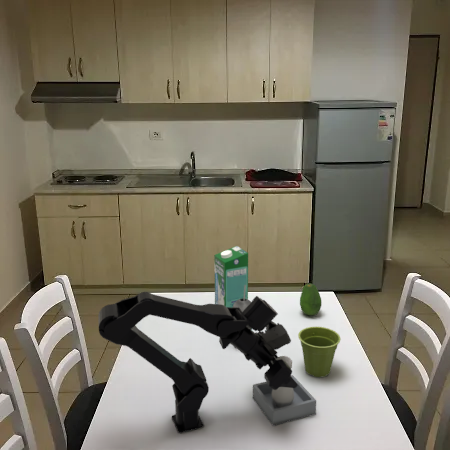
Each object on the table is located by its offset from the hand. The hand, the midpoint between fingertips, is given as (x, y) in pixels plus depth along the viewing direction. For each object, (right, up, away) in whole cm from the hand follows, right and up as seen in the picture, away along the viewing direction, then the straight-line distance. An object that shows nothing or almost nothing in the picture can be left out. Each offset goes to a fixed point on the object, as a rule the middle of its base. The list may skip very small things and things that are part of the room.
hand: (289, 376), depth 123 cm
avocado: (+15, +6, +52) cm, 55 cm away
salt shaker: (-1, -8, +2) cm, 8 cm away
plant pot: (+11, -4, +17) cm, 21 cm away
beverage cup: (-11, 0, +33) cm, 34 cm away
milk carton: (-14, +5, +52) cm, 54 cm away
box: (-1, -8, +2) cm, 9 cm away
